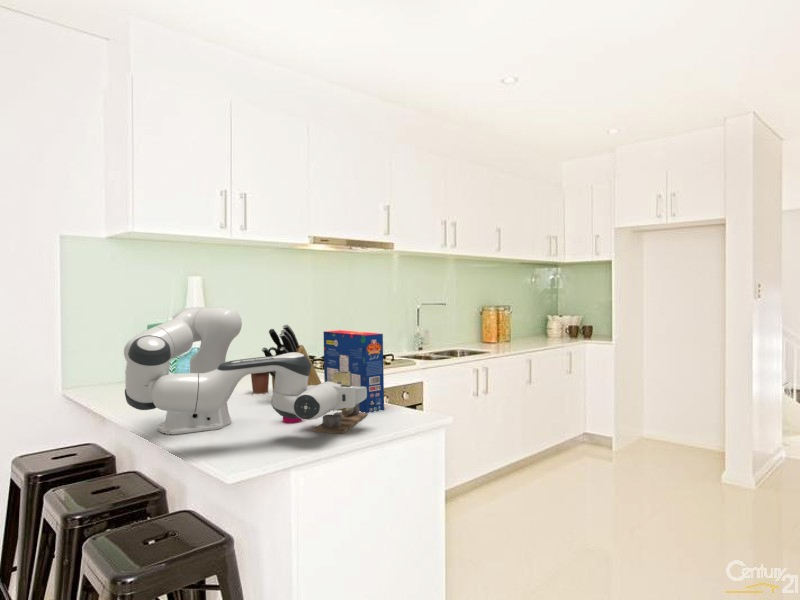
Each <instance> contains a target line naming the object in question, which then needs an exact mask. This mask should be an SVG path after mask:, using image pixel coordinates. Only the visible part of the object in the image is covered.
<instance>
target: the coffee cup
mask: <svg viewBox="0 0 800 600" xmlns="http://www.w3.org/2000/svg"><path fill="white" fill-rule="evenodd" d="M250 377H251V388H252V395H254V394H263V395H267V394H269V385H270V383H269V382H270V381H269V380H270V374H269V372H262V373H253V374H250ZM266 393H267V394H266Z"/></svg>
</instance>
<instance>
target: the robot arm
mask: <svg viewBox="0 0 800 600" xmlns="http://www.w3.org/2000/svg"><path fill="white" fill-rule="evenodd" d="M242 321H243V320H242V317H241V315H240V314H239V312H238V311H237V310H235V309H232V308H229V307H223V306H205V307H203V306H201V307H200V306H199V307H196V306H195V307H193V306H192V307H187V308H184V309H179V310H178V311H177V312H176V313H174V315H173V316H172V318H171V319H170V320H168V321H165V322H163V323H161V324H158V325H155V326H154V327H151V328H149V329H146V330H145V331H142V332H141V333H139V334H137V335H135V336H134V337H132V338H131V339H130V340H128V341H127V342H126V344H125V346H124V350H123V356H124V359H125V361H126V365H125V382H124V383H125V389H124V396H125V401H126V403H127V404H128V405H129V406H131V408H133V409H135V410H139V411H149V410H150V411H151V410H154V409H158V410H162V411H166V415H165V422H162V423H160V424H159V425H158V426H157V430H158V432H159V433H162V434H164V433H165V435H170V434H171V435H182V434H189V433H196V432H204V431H213V430H220V429H222V428H224V427H225V426H227V425H229V424H231V423H232V419H231V416H230V413H229V407H228V401H229V400H230V398H231V396H232V394H233V393H234V391H235V389H236V387H237V385H238V384H239V382H240V381H241V380H242V379H243V378H245V377H246V376H249V375H251V374H253V373H262V372H270V371H275V372H276V375H275V383H274V389H273V388H272V397H271V407H272V408H273V410H274V411H275V413H277V414H278V415H279V416H281V417H282V418H283V417H286V418H291V419H302V420H304V421H310V420H311V421H312V420H316V419H319V418H321V417H322V418H323V416H325V415H328V413H330V412H334V411H339V410H338V409H345V408H353V407H355V404H358V403H360V402H362V401H363V400H365V399H366V398H367V388H366V387H359V386H348V385H341V384H337V383H334V382H330V381H327V382H323V381H322V382H321V384H319V385H309V386H307V385H308V378H309V375H310V370H311V366H312V365H311V363H310V361H309V359H308V358H307V357H306V356H305V355H304V354H301V353H297V352H291V353H286V354H280V355H275V354H274V355H273V356H267V357H266V356H260V357H259V356H258V357H251V358H249V357H248V358H241V359H233V360H228V361H226V358H227V353H228V350H229V347H230V344H231V343H232V342H233V340H234V339H235V338H236V337H238V335H239V334H240V332H241V330H242V325H243V322H242ZM195 342H200V345H199V349H198V351H197V352H196V353H195V354H193V355H192V356H191V358H190V360H189V372H186V373H185V372H182V373H181V372H180V373H173V372H170V366H171V365H170V364H171V363H170V362H171V360H173V359H175V358H177V357H179V356H181V355H183V354H185V353H187V352H189V351H190V350H191V348H192V347H193V343H195Z"/></svg>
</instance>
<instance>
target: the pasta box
mask: <svg viewBox="0 0 800 600" xmlns="http://www.w3.org/2000/svg"><path fill="white" fill-rule="evenodd" d="M383 338H384V334H383V333H377V332H366V331H353V330H341V329H340V330H338V329H337V330H327V331H323V372H324V375H323V376H324V378H323V379H324V382H327V381H330V382H333V373H335V372H338V371H340V372H350V375H351V386H359V387H366V388H367V398H366V399H365V400H363V401H362V402H360V403H359V411H361V412H360V413H363V412H365V413H368V414H370V413H369V412H371V413H375V412H374V411H376V412H380V411H379V410H382V411H384V410H385V391H384V390H385V387H384V385H385V382H384V379H385V378H384V376H385V375H384V339H383Z"/></svg>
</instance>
